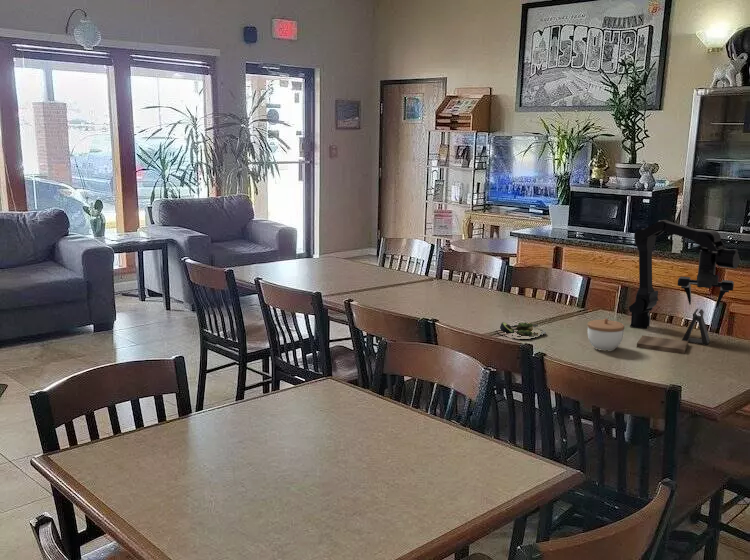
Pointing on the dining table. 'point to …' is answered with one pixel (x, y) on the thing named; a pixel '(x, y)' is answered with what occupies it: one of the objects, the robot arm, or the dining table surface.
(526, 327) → the salad plate
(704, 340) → the gray triangular stand
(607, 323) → the lidded bowl
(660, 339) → the walnut board
